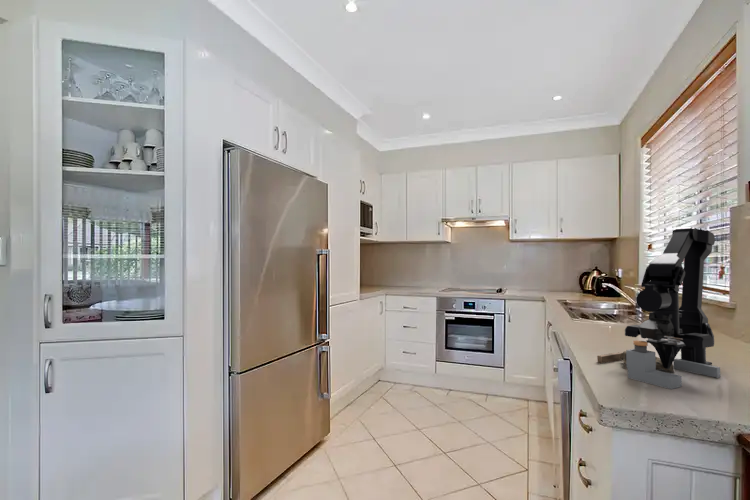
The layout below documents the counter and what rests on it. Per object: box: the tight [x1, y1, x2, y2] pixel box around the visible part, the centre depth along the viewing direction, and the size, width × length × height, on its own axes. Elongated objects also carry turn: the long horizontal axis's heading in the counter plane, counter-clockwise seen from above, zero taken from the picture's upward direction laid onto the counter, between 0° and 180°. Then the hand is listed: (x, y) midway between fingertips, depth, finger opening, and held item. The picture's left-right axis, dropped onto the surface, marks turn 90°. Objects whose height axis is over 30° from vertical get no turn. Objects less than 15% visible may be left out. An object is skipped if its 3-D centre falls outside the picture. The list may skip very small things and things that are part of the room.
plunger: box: [633, 340, 649, 353], centre depth 100 cm, size 3×3×6 cm
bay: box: [626, 348, 721, 390], centre depth 101 cm, size 22×10×7 cm, turn 115°
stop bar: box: [596, 351, 623, 364], centre depth 118 cm, size 10×1×2 cm, turn 116°
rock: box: [620, 350, 675, 373], centre depth 110 cm, size 11×12×4 cm
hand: (666, 368), depth 104 cm, fingers closed
